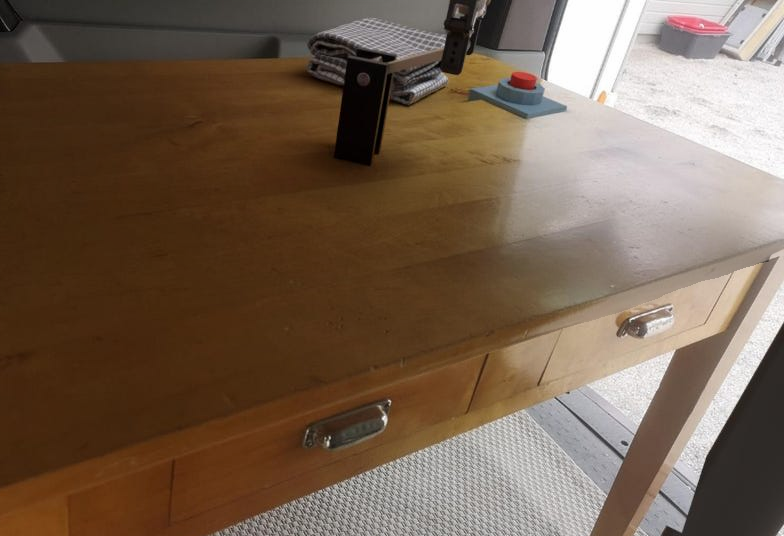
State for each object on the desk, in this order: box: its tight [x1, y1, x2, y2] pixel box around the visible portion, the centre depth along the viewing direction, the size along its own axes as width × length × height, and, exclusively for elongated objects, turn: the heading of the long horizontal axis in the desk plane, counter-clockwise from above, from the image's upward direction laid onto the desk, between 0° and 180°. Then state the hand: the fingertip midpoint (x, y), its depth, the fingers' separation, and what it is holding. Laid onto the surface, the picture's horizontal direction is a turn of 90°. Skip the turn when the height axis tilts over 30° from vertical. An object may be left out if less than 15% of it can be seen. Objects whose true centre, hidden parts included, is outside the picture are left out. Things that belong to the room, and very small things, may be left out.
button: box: [509, 71, 538, 90], centre depth 110 cm, size 4×4×2 cm
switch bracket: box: [333, 47, 397, 167], centre depth 86 cm, size 12×9×13 cm
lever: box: [370, 40, 471, 74], centre depth 82 cm, size 12×5×2 cm, turn 72°
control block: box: [467, 77, 568, 120], centre depth 112 cm, size 11×9×4 cm
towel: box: [305, 17, 450, 106], centre depth 115 cm, size 15×18×8 cm
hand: (456, 62), depth 80 cm, fingers open, 8 cm apart
